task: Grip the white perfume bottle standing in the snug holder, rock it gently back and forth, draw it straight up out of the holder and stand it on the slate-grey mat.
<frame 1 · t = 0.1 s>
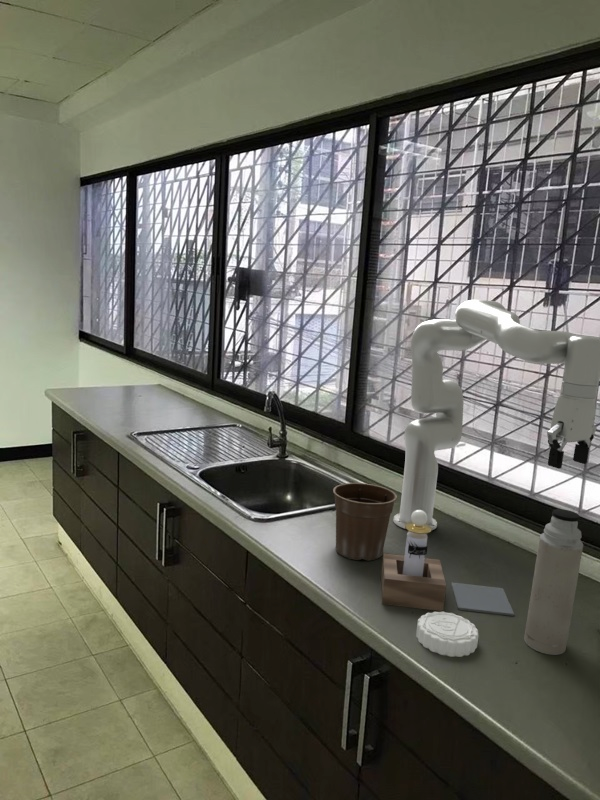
hand: (567, 464, 149), 31 cm above the worktop, tool pointing down, fingers open, 9 cm apart
holder: (410, 593, 148), on the worktop
thermos bottle: (544, 644, 131), on the worktop
plant pot: (359, 552, 169), on the worktop
mooncake: (445, 641, 130), on the worktop
mat: (481, 599, 148), on the worktop
perfume bottle: (410, 594, 148), resting in holder
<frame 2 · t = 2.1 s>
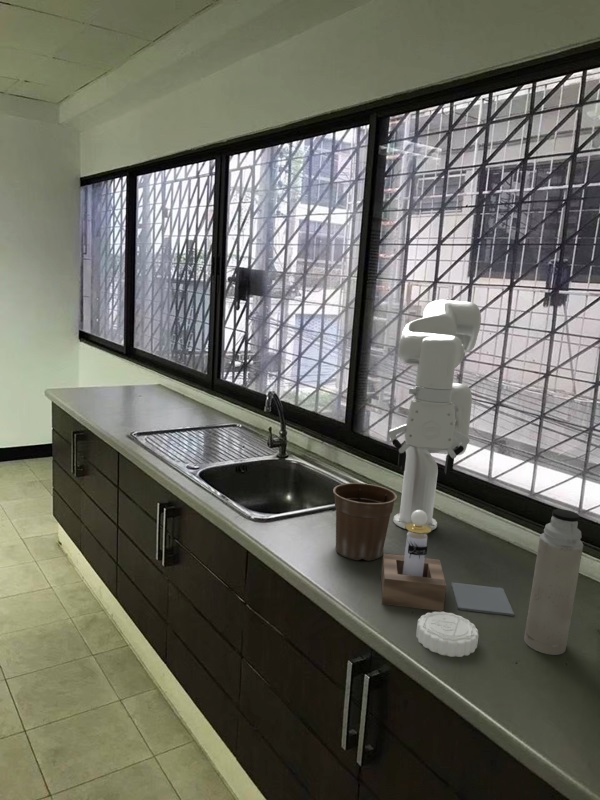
hand: (424, 471, 143), 29 cm above the worktop, tool pointing down, fingers open, 9 cm apart
nothing on the worktop moved.
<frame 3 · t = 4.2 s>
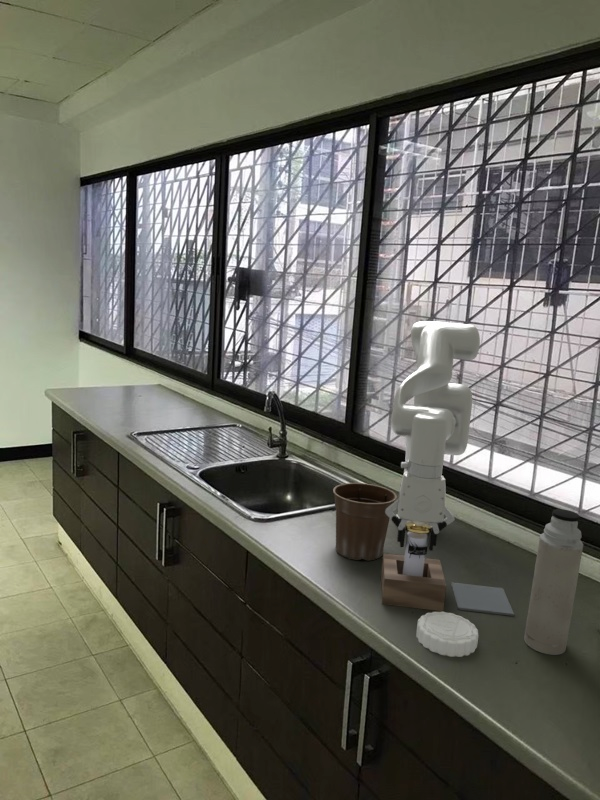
hand: (416, 545, 146), 12 cm above the worktop, tool pointing down, fingers closed on perfume bottle, 5 cm apart
perfume bottle: (410, 594, 148), resting in holder, touching gripper
everything else where it was.
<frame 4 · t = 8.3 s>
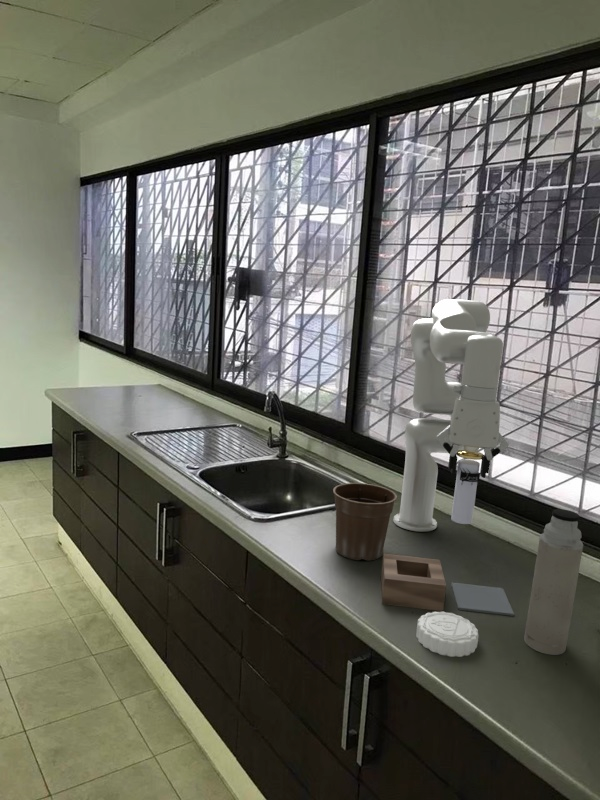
hand: (467, 473, 143), 29 cm above the worktop, tool pointing down, fingers closed on perfume bottle, 5 cm apart
perfume bottle: (461, 524, 145), point 18 cm above the worktop, touching gripper
everything else where it was.
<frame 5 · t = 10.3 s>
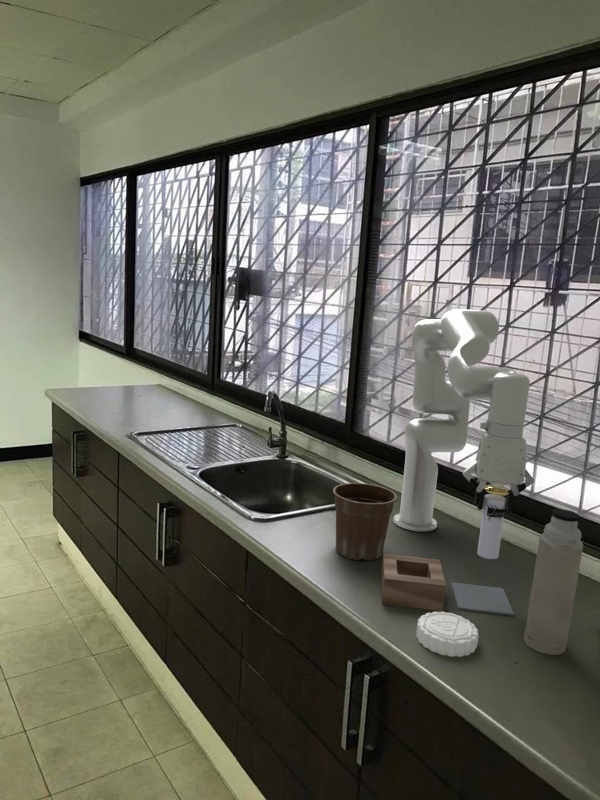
hand: (493, 508, 144), 22 cm above the worktop, tool pointing down, fingers closed on perfume bottle, 5 cm apart
perfume bottle: (487, 558, 146), point 10 cm above the worktop, touching gripper
everything else where it was.
when the fingers open (13 cm above the worktop, at t = 12.3 s): perfume bottle drops 1 cm, resting on mat.
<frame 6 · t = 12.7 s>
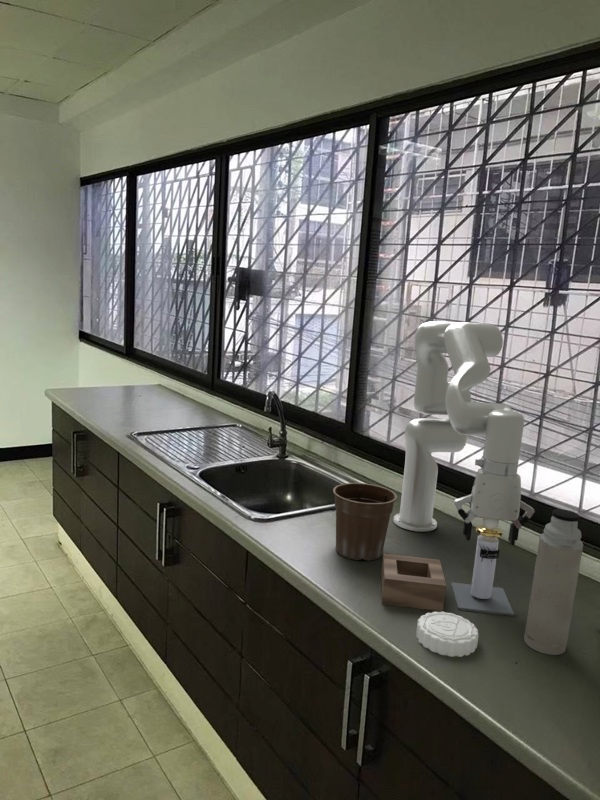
hand: (489, 540, 145), 14 cm above the worktop, tool pointing down, fingers open, 9 cm apart
perfume bottle: (480, 597, 148), resting on mat
everything else where it was.
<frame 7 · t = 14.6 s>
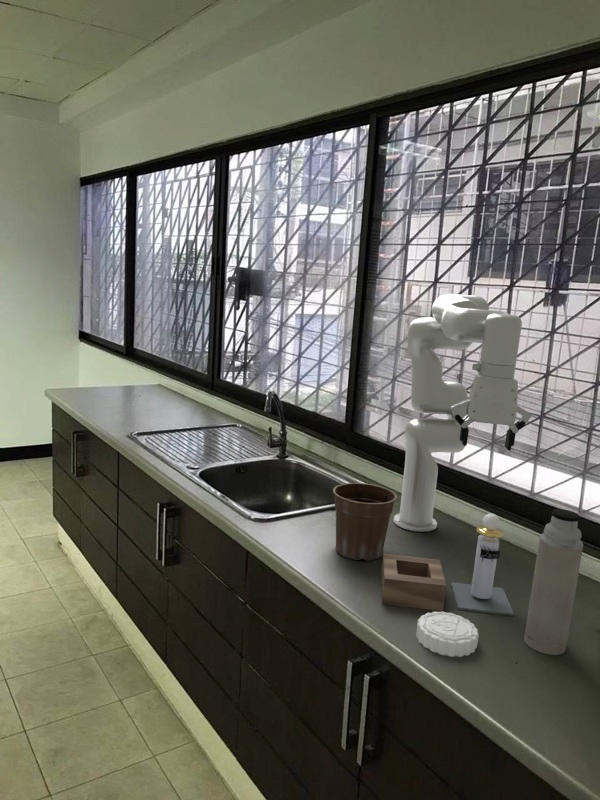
hand: (485, 446, 146), 35 cm above the worktop, tool pointing down, fingers open, 9 cm apart
nothing on the worktop moved.
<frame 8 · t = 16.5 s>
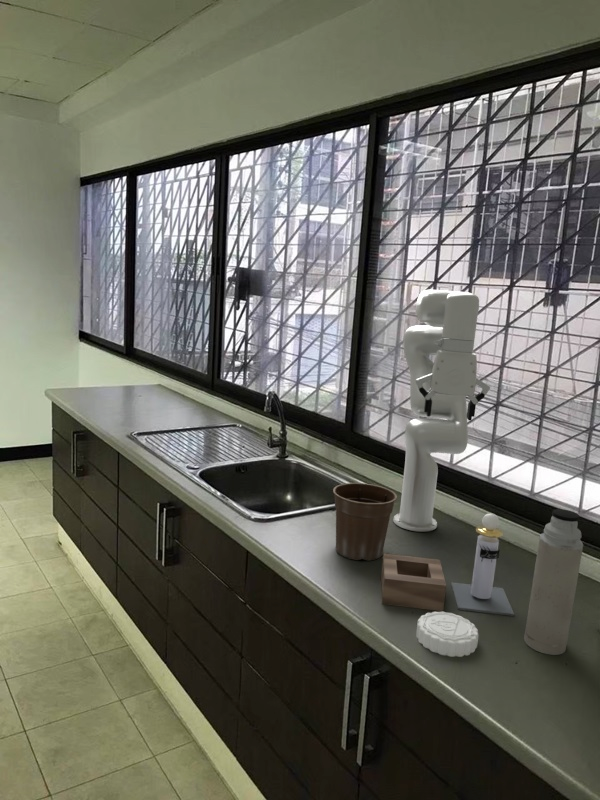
hand: (448, 417, 156), 38 cm above the worktop, tool pointing down, fingers open, 9 cm apart
nothing on the worktop moved.
at the end: perfume bottle inside the target area on the mat (0.2 cm from its centre), point 0.3 cm above the mat's base; perfume bottle tilted 0°; the gripper is holding nothing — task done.
